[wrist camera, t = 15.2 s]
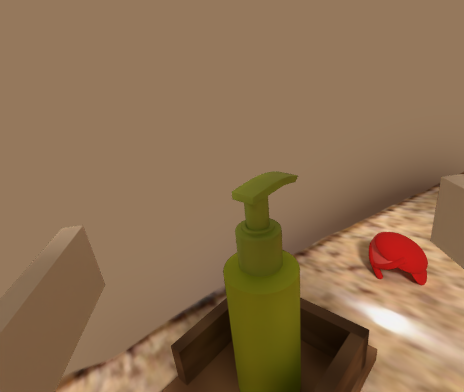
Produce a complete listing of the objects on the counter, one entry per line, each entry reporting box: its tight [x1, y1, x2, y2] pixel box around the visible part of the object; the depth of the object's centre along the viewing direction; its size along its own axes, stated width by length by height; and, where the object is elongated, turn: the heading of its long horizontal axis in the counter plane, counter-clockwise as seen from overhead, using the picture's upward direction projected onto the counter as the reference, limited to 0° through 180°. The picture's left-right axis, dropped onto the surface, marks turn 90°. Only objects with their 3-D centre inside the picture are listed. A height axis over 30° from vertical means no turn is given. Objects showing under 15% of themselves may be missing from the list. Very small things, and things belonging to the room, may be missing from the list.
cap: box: [369, 232, 428, 285], centre depth 42 cm, size 8×6×6 cm
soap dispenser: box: [223, 172, 301, 392], centre depth 26 cm, size 6×7×20 cm
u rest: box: [162, 298, 377, 392], centre depth 29 cm, size 18×14×6 cm
